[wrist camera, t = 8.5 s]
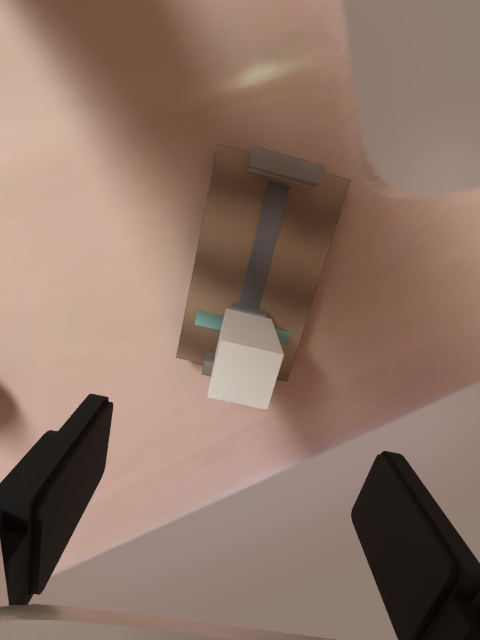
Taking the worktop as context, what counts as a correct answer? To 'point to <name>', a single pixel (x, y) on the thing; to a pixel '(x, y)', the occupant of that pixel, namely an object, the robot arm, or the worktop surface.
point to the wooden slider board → (260, 247)
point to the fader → (246, 358)
